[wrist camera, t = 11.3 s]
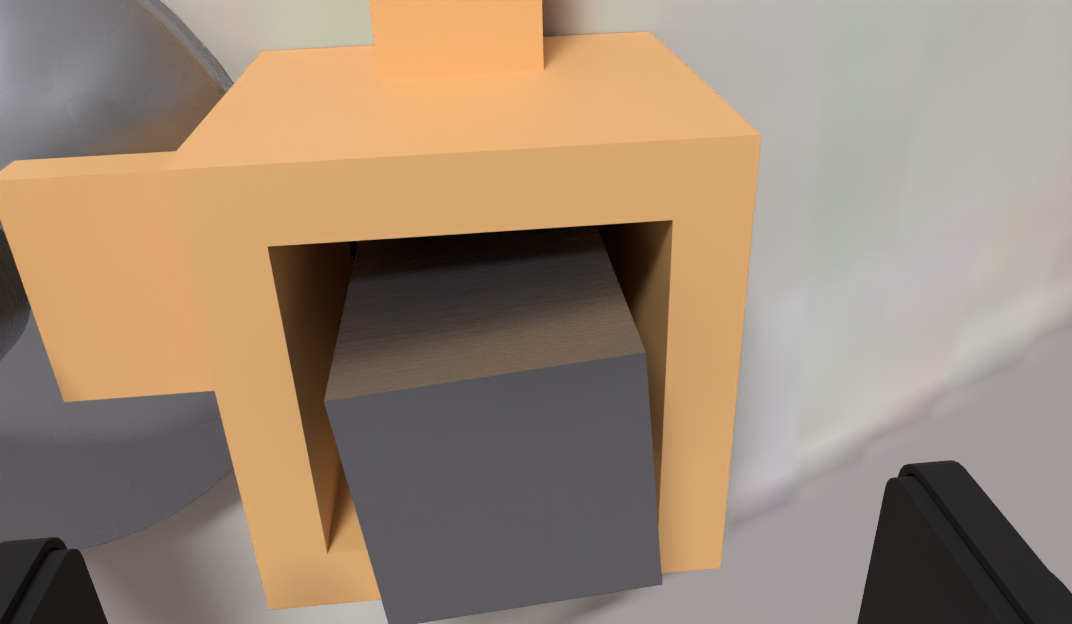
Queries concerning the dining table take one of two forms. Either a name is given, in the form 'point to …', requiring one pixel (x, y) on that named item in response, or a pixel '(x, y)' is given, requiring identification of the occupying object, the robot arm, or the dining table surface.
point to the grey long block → (494, 422)
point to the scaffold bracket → (397, 212)
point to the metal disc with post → (3, 307)
